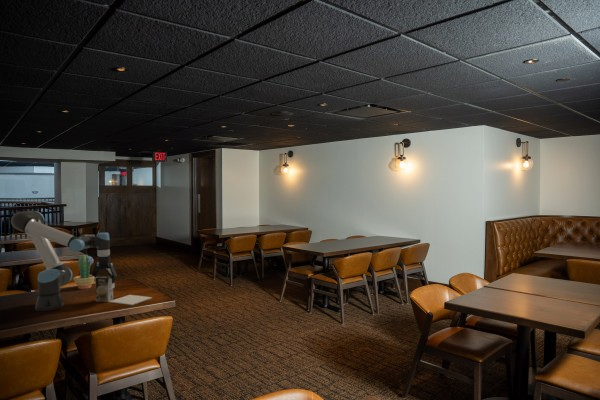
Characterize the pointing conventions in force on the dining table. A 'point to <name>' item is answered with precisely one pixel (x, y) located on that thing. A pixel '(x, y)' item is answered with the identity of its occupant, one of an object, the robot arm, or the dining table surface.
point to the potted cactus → (84, 272)
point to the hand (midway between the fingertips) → (105, 287)
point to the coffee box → (103, 289)
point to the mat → (130, 299)
